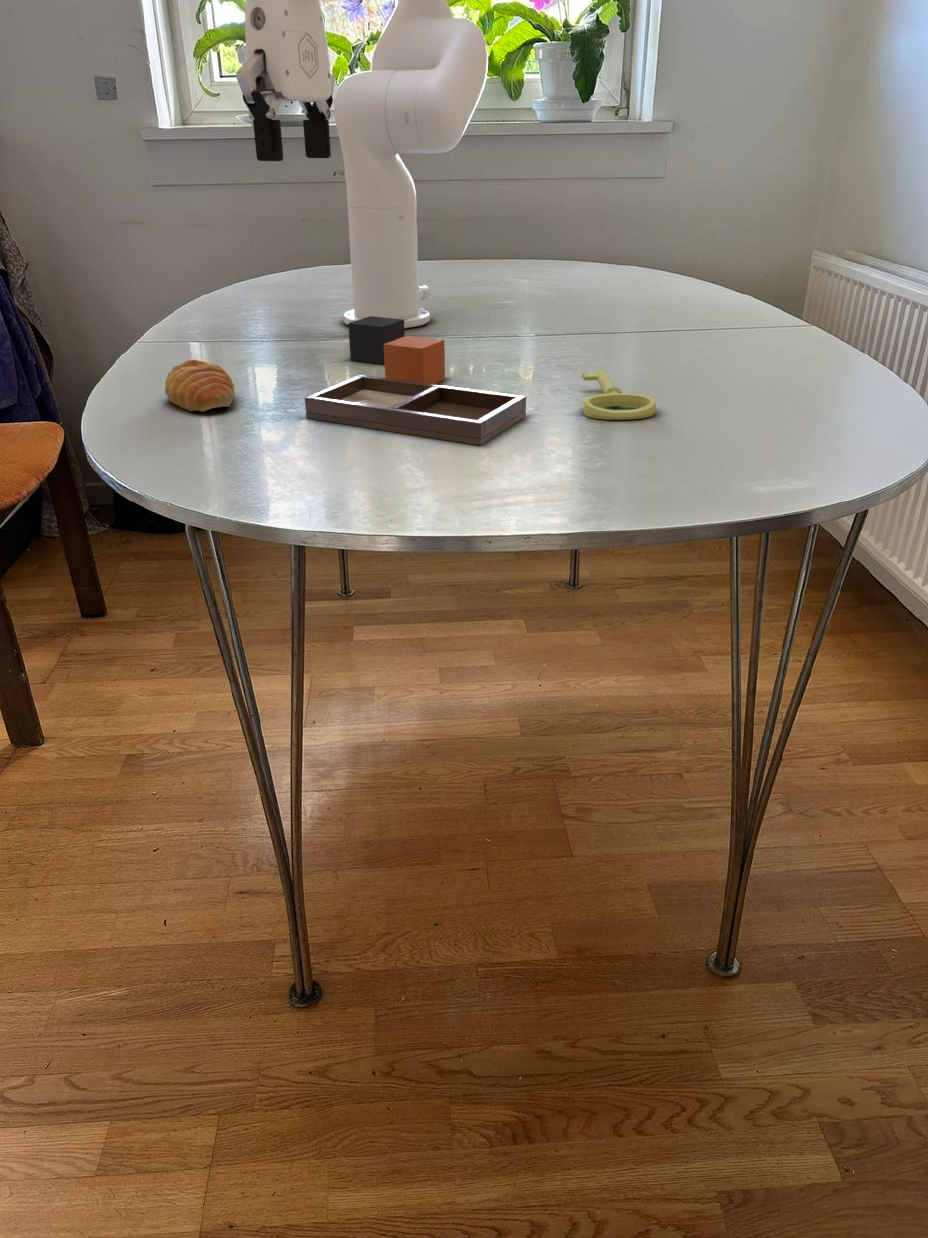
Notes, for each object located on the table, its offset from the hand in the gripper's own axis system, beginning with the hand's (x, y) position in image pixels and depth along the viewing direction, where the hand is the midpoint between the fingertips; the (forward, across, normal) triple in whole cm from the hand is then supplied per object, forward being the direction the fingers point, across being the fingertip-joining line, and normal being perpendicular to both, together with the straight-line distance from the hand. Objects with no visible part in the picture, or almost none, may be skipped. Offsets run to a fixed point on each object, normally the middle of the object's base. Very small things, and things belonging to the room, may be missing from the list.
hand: (295, 159), depth 105 cm
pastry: (+22, -23, -1) cm, 32 cm away
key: (+22, -6, -41) cm, 47 cm away
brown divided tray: (+22, -19, -25) cm, 38 cm away
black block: (+22, +2, -9) cm, 24 cm away
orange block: (+22, -6, -18) cm, 30 cm away
